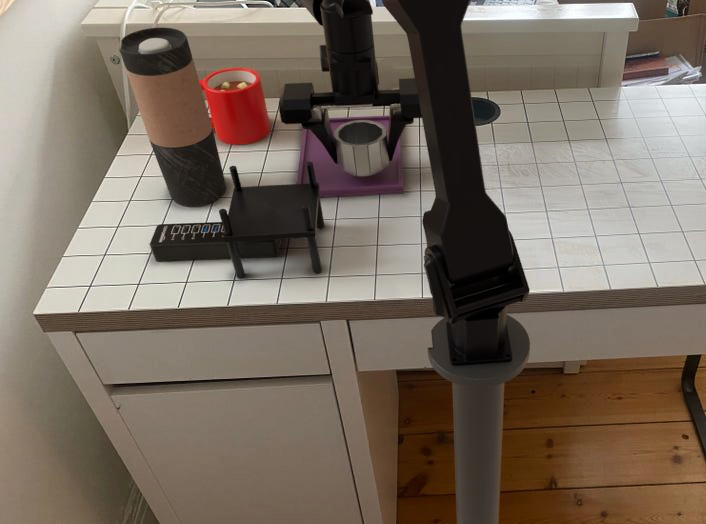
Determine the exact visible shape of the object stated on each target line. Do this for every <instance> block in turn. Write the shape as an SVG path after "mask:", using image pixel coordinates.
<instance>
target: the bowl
mask: <svg viewBox="0 0 706 524" xmlns="http://www.w3.org/2000/svg"><path fill="white" fill-rule="evenodd" d="M334 142H335V149H336V154H337V162H338V166H339V167H340V168H341V169H342V170H343V171H344V172H346V173H347V174H350V175H353V176H371V175H374V174H377V173H379V172H381V171H383V170H384V169H385V168H386V166H387V165H388V164H389V157H388V139H387V129H386V128H385V127H384V126H383V125H382V124H380V123H378V122H374V121H370V120H356V121H351V122H348V123H345V124H342V125H340V126H339V127H338V128H337V129H336V130H335V131H334Z"/></svg>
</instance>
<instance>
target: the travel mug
mask: <svg viewBox="0 0 706 524" xmlns="http://www.w3.org/2000/svg"><path fill="white" fill-rule="evenodd" d="M118 51H119V53H120V56H121V59H122V62H123V65H124V68H125V71H126V73H127V76H128V80H129V83H130V86H131V89H132V92H133V95H134V98H135V101H136V104H137V107H138V110H139V113H140V116H141V119H142V122H143V126H144V128H145V131H146V134H147V137H148V140H149V143H150V145H151V148H152V151H153V154H154V156H155V159H156V162H157V165H158V166H159V169H160V172H161V174H162V177H163V180H164V182H165V185H166V188H167V190H168V193H169V195H170V198H171V200H172V201H173V202H174V203H176V204H177V205H180V206H184V207H201V206H205V205H206V206H207V205H209V204H212V203H214V202H216V201H218V200H219V199H220V198H222V197H223V196H224V195H225V193H226V189H227V185H226V180H225V176H224V175H225V174H224V171H223V168H222V163H221V158H220V153H219V150H218V145H217V141H216V138H215V131H214V128H212V124H211V121H210V118H211V116H210V113H209V109H208V107H207V104H206V100H205V98H204V97H205V96H204V92H203V90H202V89H201V86H200V82H199V80H200V79H199V76H198V73H197V72H198V71H197V69H196V65H195V60H194V58H193V54H192V50H191V48H190V43H189V40H188V37H187V35H186V33H184V32H183V31H182V30H180V29H178V28H172V27H162V26H161V27H150V28H143V29H139V30H136V31H134V32H131V33H129V34H127V35H125V36H123V37H122V39H121V40H120V48H118Z"/></svg>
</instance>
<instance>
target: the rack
mask: <svg viewBox="0 0 706 524" xmlns="http://www.w3.org/2000/svg"><path fill="white" fill-rule="evenodd" d="M306 166H307V172H308V178H309V183H307V184H296V183H291V184H288V183H287V184H272V185H270V184H269V185H251V186H242V184H241V179H240V175H239V172H238V168H237V166H236V165H230V166H229V168H228V169H229V172H230V176H231V180H232V185H233V191H232V195H231V200H230V204H229V209H228V211H227V209H226V208H220V209H219V210H218V214H219V218H220V220H221V221H220V222H222V224H223V228H224V235H223V239H224V242H225V243H227V245H228V249H229V252H230V255H231V262H232V264H233V269H234V272H235V273H234V274H235V276H236V278H238V279H243V278H245V277H246V272H245V269H244V264H243V261H242V258H241V257H240V254H239V250H238V247H237V243H236V242H245V241H262V240H280V239H281V240H294V239H306V242H307V247H308V253H309V258H310V262H311V268H312V272H313V273H314V274H320V273H322V270H323V269H322V264H321V259H320V254H319V253H320V252H319V248H318V243H317V237H316V236H317V229H318V230H323V229H325V220H324V219H325V218H324V215H323V208H322V201H321V198H320V196H319V189H320V188H319V183H316V178H315V172H314V166H313V163H312V162H307V163H306Z"/></svg>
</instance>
